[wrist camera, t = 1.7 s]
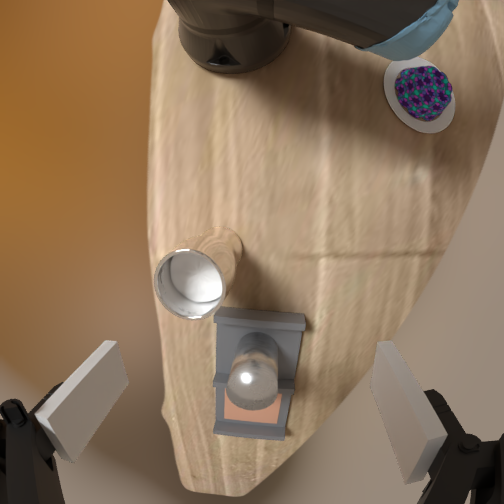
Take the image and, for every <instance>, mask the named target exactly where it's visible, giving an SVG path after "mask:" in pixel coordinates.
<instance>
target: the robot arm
mask: <svg viewBox="0 0 504 504" xmlns="http://www.w3.org/2000/svg"><path fill="white" fill-rule="evenodd" d="M168 2H169V3H170V5H171V6H172V7H173V9H174V10H175V12H176V13H177V14H178V16H179V38H180V41H181V44H182V46H183V48H184V49H185V51H186V52H187V53H188V55H189V56H190V57H191V59H192V60H193V61H195V62H196V63H197V64H199V65H200V66H202V67H204V68H206V69H208V70H211V71H214V72H219V73H228V74H234V73H244V72H248V71H252V70H255V69H258V68H260V67H263V66H265V65H266V64H268V63H270V62H271V61H273V60H274V59H275V58H276V57H278V56H279V55H280V54H281V52H282V51H283V50H284V48H285V47H286V45H287V43H288V41H289V38H290V33H291V25H293V26H296V27H300V28H303V29H307V30H310V31H313V32H317V33H320V34H323V35H326V36H329V37H332V38H335V39H337V40H340V41H343V42H346V43H348V44H351V45H354V47H355V48H356V49H359V50H361V51H369V52H372V53H374V54H377V55H380V56H382V57H385V58H387V59H390V60H393V61H403V60H411V59H413V58H415V57H417V56H419V55H421V54H422V53H424V52H425V51H426V50H428V49H429V48H430V47H431V46H432V45H433V44H434V43H435V42H436V41H437V40H438V39H439V37H440V36H441V35H442V34H443V32H444V31H445V30H446V28H447V27H448V25H449V23H450V22H451V20H452V18H453V14H452V11H453V10H454V9H455V8H456V7H457V5H458V2H459V0H168ZM128 384H129V381H128V378H127V374H126V371H125V368H124V364H123V361H122V357H121V354H120V350H119V346H118V343H117V341H108V340H106V341H104V342H103V343H102V344H101V345H100V346H99V347H98V348H97V349H96V350H95V351H94V352H93V353H92V354H91V355H90V356H89V358H88V359H86V360H85V361H84V363H83V364H82V365H81V366H80V367H79V368H78V369H77V370H76V371H75V372H74V373H73V374H72V375H71V376H70V377H69V378H68V379H67V380H66V381H65V382H62V383H60V384H58V385H56V386H54V387H53V388H52V389H51V390H50V391H49V392H48V394H47V395H46V396H45V397H44V399H42V400H41V401H40V402H39V403H38V404H37V405H36V406H35V407H34V408H33V409H32V411H30V412H29V413H27V411H26V409H25V408H24V406H23V404H22V402H21V401H20V400H17V399H10V400H6V401H5V402H3V403H2V404H1V405H0V414H1V416H2V417H3V419H4V420H2V419H0V504H65V501H64V498H63V494H62V489H61V485H60V481H59V476H58V471H57V466H56V461H55V458H54V456H53V453H54V451H55V450H56V451H57V453H58V454H59V456H60V457H61V459H64V460H66V461H69V462H71V463H75V461H76V460H77V458H78V457H79V455H80V454H81V452H82V451H83V449H84V448H85V446H86V445H87V443H88V442H89V440H90V439H91V437H92V436H93V435H94V433H95V432H96V430H97V429H98V427H99V426H100V424H101V423H102V421H103V420H104V418H105V417H106V415H107V414H108V413H109V411H110V410H111V408H112V407H113V405H114V404H115V402H116V401H117V399H118V398H119V396H120V395H121V394H122V392H123V391H124V389H125V388H126V387H127V385H128ZM370 388H371V390H372V393H373V396H374V398H375V401H376V403H377V406H378V409H379V411H380V414H381V417H382V419H383V422H384V425H385V428H386V430H387V433H388V436H389V439H390V442H391V444H392V447H393V450H394V453H395V456H396V459H397V462H398V465H399V468H400V471H401V474H402V477H403V480H404V483H405V485H406V484H409V483H413V482H417V481H421V480H423V479H424V477H425V475H426V474H427V472H428V473H429V475H430V478H431V479H430V481H429V482H428V484H427V486H426V487H425V488H424V490H423V491H422V492H423V494H422V496H421V497H420V499H419V501H418V503H417V504H464V503H465V501H466V498H467V496H468V493H469V491H470V490H471V499H470V504H504V433H503V434H502V436H501V438H500V439H499V440H497V441H487V442H481V440H480V439H479V438H478V437H477V436H475V435H472V434H466V433H465V431H464V430H463V428H462V426H461V425H460V423H459V422H458V420H457V418H456V417H455V415H454V413H453V412H452V411H451V409H450V407H449V405H447V402H446V401H445V399H444V398H443V396H442V395H441V394H440V393H438V392H437V391H435V390H434V389H432V390H427V391H423V390H422V388H421V387H420V385H419V384H418V382H417V380H416V378H415V377H414V375H413V373H412V372H411V370H410V369H409V367H408V365H407V364H406V362H405V361H404V359H403V357H402V356H401V354H400V353H399V351H398V349H397V348H396V346H395V345H394V343H393V342H392V340H390V341H380V342H377V347H376V354H375V360H374V366H373V372H372V377H371V383H370Z"/></svg>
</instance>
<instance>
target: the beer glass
mask: <svg viewBox="0 0 504 504" xmlns="http://www.w3.org/2000/svg"><path fill="white" fill-rule="evenodd" d="M242 251H243V248H242V243H241V240H240V238H239V237H238V236H237V234H236V233H235V232H233V231H232V230H230V229H228V228H226V227H220V226H219V227H213V228H210V229H208V230H206V231H205V232H204V233H203V234H202V235H199V236H195V237H191V238H189V239H187V240H185V241H183V242H181V243H180V244H178V245H177V246H176V247H175V248H173V249H172V250H171V251H170V252H169V253H168V254H167V255H166V256H165V257H164V258H163V259H162V260H161V261H160V263H159V264H158V266H157V268H156V271H155V275H154V287H155V291H156V294H157V296H158V298H159V300H160V302H161V303H162V305H163V306H164V307H165V308H166V309H167V310H168V311H169V312H171V313H172V314H174V315H175V316H177V317H180V318H183V319H187V320H201V319H205V318H207V317H209V316H211V315H213V314H214V313H215V312H216V311H217V310H218V309H219V308H220V307H221V305H222V303H223V302H224V300H225V299H226V297H227V296H228V294H229V292H230V290H231V289H232V286H233V284H234V281H235V277H236V265H237V264H238V262H239V261H240V259H241V257H242Z"/></svg>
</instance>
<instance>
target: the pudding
mask: <svg viewBox="0 0 504 504" xmlns="http://www.w3.org/2000/svg"><path fill="white" fill-rule="evenodd" d="M410 67H415V68H410ZM406 68H410V69H406ZM403 69H406V70H403ZM402 70H403V71H402ZM401 71H402V72H401ZM400 72H401V78H398V79H397V80H396V77H397V75H398V74H399V73H400ZM395 80H396V82H395ZM395 87H396V89H397V90H398V92H399V93H398V96H397V97H398V99H397V97H396V93H395ZM384 91H385V94H386V98H387V100H388V102H389V105H390V106H391V108H392V109H393V111H394V112H395V114H396V115H397V116H398V117H399V118H400V119H401V120H402V121H403V122H404V123H405V124H406V125H408V126H409V127H411V128H413V129H415V130H416V131H419V132H422V133H437V132H441V131H442V130H444V129H445V128H447V127H448V126H449V124H450V123H451V121H452V119H453V117H454V113H455V97H454V93H453V90H452V86H451V84H450V83H449V82H448V78H447V76H446V75H445V74H444V73H443V72H441V71H440V70H439V69H438V68H437V67H436V66H435V65H433V64H432V63H431V62H429V61H427V60H425V59H423V58H420V57H415V58H413V59H411V60H403V61H392V62H391V63H390V65H389V66H388V67H387V69H386V71H385V75H384ZM398 100H399V101H398ZM399 102H400V103H399ZM400 104H401V105H402V106H404V107H406V108H407V109H408V112H409V114H410V115H412V116H413V117H415V118H420V117H422V118H423V119H424V120H426V121H430V120H433V119H434V118H435V117H436V116H437V115H440V114H441V113H442V114H441V115H440V116H439V117H438V118H437V119H436V120H434V121H430V122H425V121H420V120H417V119H415V118H413V117H412V116H410V115H409V114H408V113H407V112H406V111H405V110H404V109H403V108H402V106H401V105H400ZM442 111H443V112H442Z"/></svg>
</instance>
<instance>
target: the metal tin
mask: <svg viewBox="0 0 504 504" xmlns="http://www.w3.org/2000/svg"><path fill="white" fill-rule="evenodd" d="M277 391H278V346H277V343H276V341H275V340H274V339H273V338H272V337H271V336H269V335H267V334H265V333H262V332H252V333H248V334H246V335H244V336H243V337H242V338H241V339H240V340H239V342H238V344H237V347H236V351H235V355H234V359H233V363H232V367H231V371H230V375H229V379H228V383H227V387H226V393H227V396H228V398H229V400H230V401H231V402H232V403H233V404H234V405H236V406H237V407H239V408H242V409H245V410H252V411H255V410H262V409H265V408H267V407H269V406H270V405H272V404H273V403H274V401H275V400H276V398H277Z"/></svg>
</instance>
